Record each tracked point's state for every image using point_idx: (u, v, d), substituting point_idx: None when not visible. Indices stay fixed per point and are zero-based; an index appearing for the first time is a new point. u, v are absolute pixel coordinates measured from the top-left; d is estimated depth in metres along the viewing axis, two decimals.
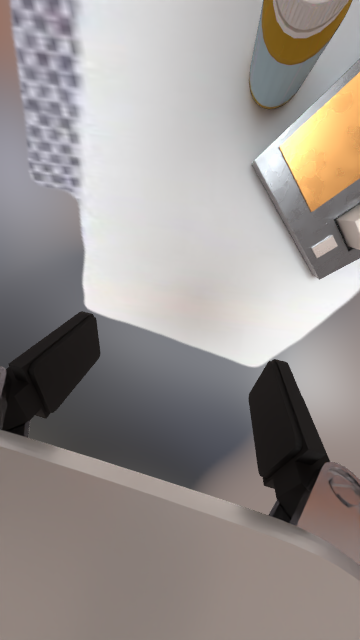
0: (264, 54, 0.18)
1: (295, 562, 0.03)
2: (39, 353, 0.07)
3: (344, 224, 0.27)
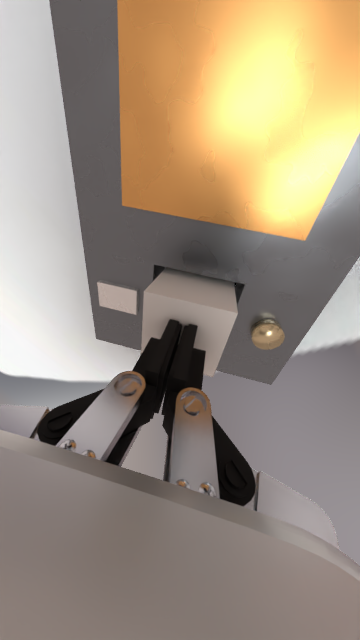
0: None
1: (295, 562, 0.03)
2: (163, 359, 0.07)
3: None
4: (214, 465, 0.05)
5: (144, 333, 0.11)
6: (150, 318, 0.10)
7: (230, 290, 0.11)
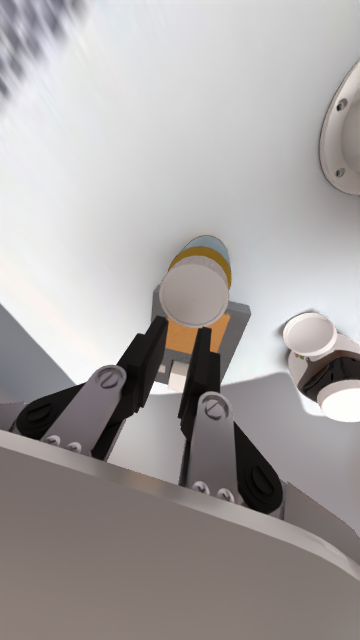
0: None
1: (295, 562, 0.03)
2: (146, 354, 0.07)
3: (173, 364, 0.37)
4: (234, 473, 0.05)
5: (169, 382, 0.36)
6: (171, 378, 0.36)
7: None
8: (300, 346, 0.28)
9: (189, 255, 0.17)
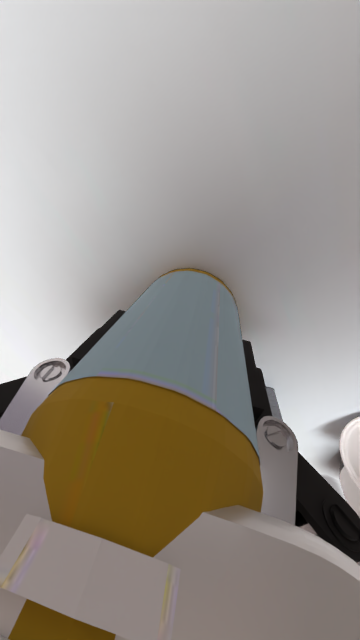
0: None
1: (295, 562, 0.03)
2: None
3: None
4: (292, 513, 0.04)
5: None
6: None
7: None
8: None
9: None
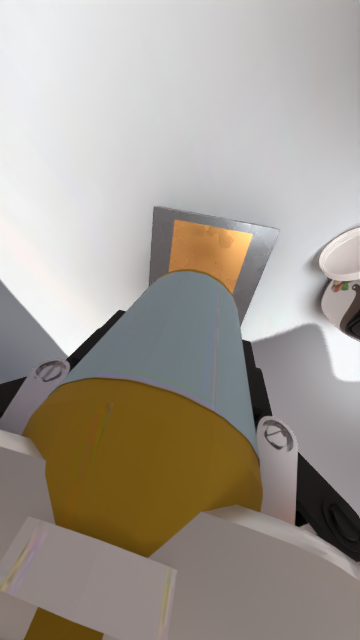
0: None
1: (295, 562, 0.03)
2: None
3: None
4: (292, 513, 0.04)
5: None
6: None
7: None
8: (344, 271, 0.22)
9: None
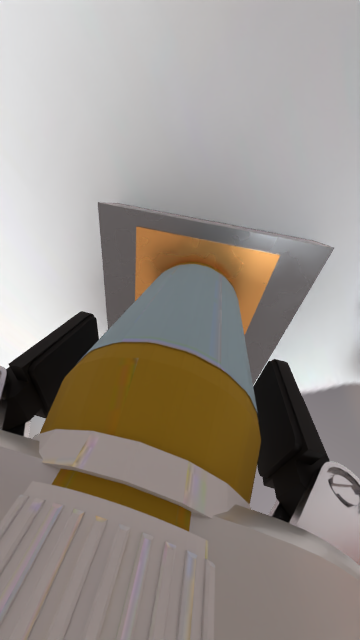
0: None
1: (295, 562, 0.03)
2: (40, 353, 0.07)
3: None
4: None
5: None
6: None
7: None
8: None
9: (85, 411, 0.04)
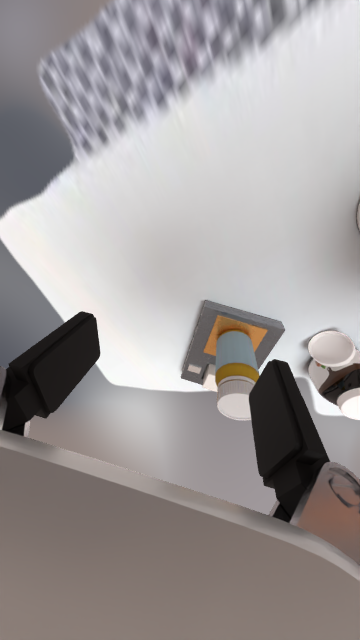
0: (216, 367, 0.31)
1: (295, 562, 0.03)
2: (39, 353, 0.07)
3: (208, 366, 0.43)
4: None
5: (205, 381, 0.42)
6: (208, 379, 0.42)
7: None
8: (323, 358, 0.35)
9: (236, 373, 0.27)
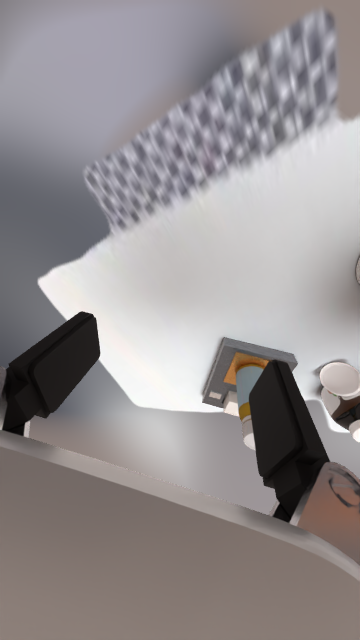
0: (239, 403, 0.35)
1: (295, 562, 0.03)
2: (40, 353, 0.07)
3: (228, 393, 0.48)
4: None
5: (226, 407, 0.47)
6: (229, 405, 0.46)
7: None
8: (334, 387, 0.39)
9: None
